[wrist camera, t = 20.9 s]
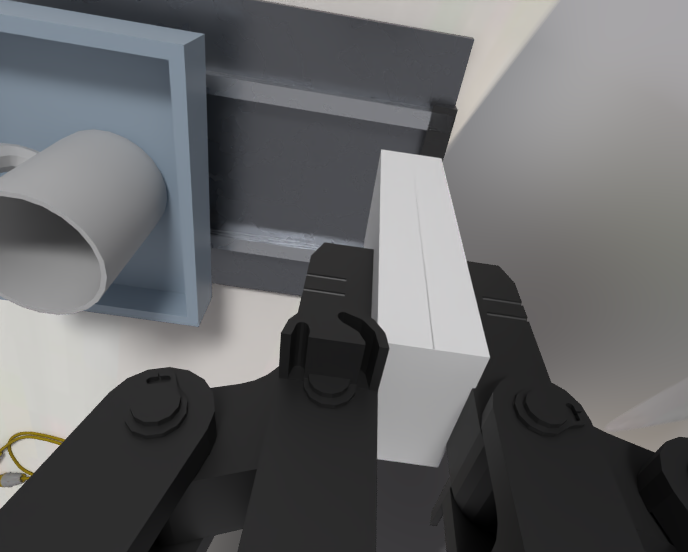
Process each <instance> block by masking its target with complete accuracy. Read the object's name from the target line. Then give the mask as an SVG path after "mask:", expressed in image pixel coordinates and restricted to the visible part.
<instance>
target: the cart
mask: <svg viewBox="0 0 688 552" xmlns="http://www.w3.org/2000/svg"><path fill="white" fill-rule="evenodd" d="M91 129H96V130H102V131H109V132H112V133H114V134H117V135H119V136H122V137H124V138H126V139H128V140H130V141H131V142H133V143H134V144H136V145H137V146H139V147H140V148H141V149H142V150H143V151H144V152H145V153H146V154H147V155H148V156H149V157H150V158H151V159H152V160H153V162H154V163H155V165H156V166H157V168H158V169H159V171H160V172H161V175H162V177H163V180H164V183H165V185H166V192H167V203H166V207H165V211H164V213H163V215H162V216H161V218H160V220H159V221H158V223H157V224H156V226H155V227H154V229H153V230H152V231H151V233H150V234H149V235H148V237H147V238H146V239H145V241H144V242H143V243H142V244H141V246H140V247H139V248H138V250H137V251H136V252H135V254H134V255H133V256H132V258H131V259H130V260H129V262H128V263H127V264H126V265H125V267H124V268H123V269H122V271H121V272H120V273H119V275H118V276H117V277H116V279H115V280H114V281H113V283H112V284H111V285H110V286H109V288H108V289H107V290H106V292H105V293H104V294H103V296H102V297H101V298H100V300H99V301H98V302H97V303H95V304H94V305H92V306H91V307H90V308H88V309H86V310H83V311H88V312H96V313H103V314H110V315H117V316H124V317H132V318H139V319H146V320H153V321H160V322H168V323H175V324H182V325H189V326H196V327H199V325H200V323H201V320H202V318H203V316H204V314H205V312H206V309H207V307H208V305H209V303H210V300H211V298H212V279H211V243H210V207H209V172H208V136H207V100H206V65H205V34H202V33H196V32H190V31H184V30H179V29H173V28H167V27H161V26H155V25H150V24H144V23H138V22H132V21H126V20H120V19H115V18H109V17H103V16H97V15H91V14H86V13H80V12H74V11H68V10H62V9H57V8H51V7H45V6H39V5H33V4H28V3H22V2H16V1H10V0H0V143H8V144H16V145H21V146H24V147H28V148H31V149H34V150H36V151H39V152H41V151H43V150H44V149H46V148H47V147H49V146H51V145H52V144H54V143H55V142H57V141H59V140H60V139H62V138H65V137H67V136H69V135H71V134H73V133H76V132H78V131H82V130H91ZM6 173H7V172H3V173H0V177H1V176H3V175H4V174H6ZM0 299H2V300H7V299H5V298H3V297H1V296H0Z"/></svg>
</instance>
